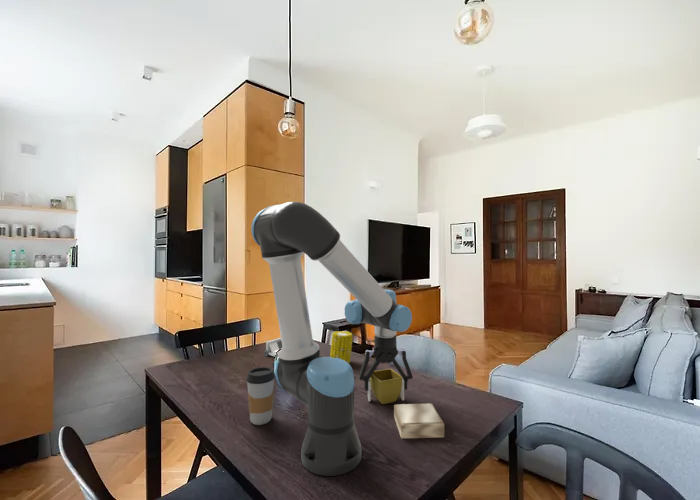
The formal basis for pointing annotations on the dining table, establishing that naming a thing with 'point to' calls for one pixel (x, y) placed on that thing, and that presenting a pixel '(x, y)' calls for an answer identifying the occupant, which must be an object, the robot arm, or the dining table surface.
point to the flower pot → (386, 385)
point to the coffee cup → (260, 394)
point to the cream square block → (418, 421)
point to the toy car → (273, 347)
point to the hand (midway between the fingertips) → (385, 399)
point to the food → (341, 345)
